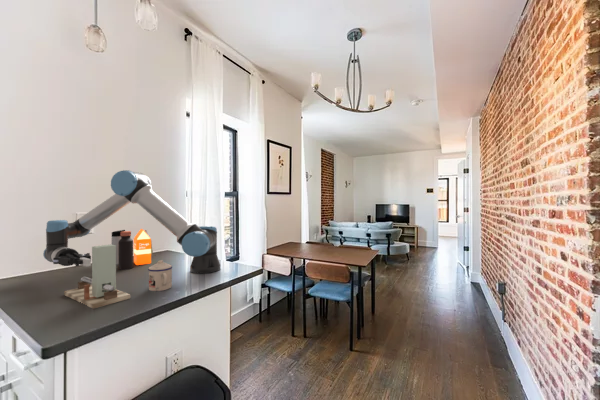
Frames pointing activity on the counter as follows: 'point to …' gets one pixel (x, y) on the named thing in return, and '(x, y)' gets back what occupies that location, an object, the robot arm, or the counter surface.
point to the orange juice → (142, 248)
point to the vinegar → (125, 251)
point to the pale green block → (103, 268)
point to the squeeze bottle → (151, 243)
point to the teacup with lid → (160, 276)
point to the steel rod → (104, 286)
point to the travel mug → (116, 243)
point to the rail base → (85, 297)
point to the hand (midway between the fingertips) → (88, 262)
